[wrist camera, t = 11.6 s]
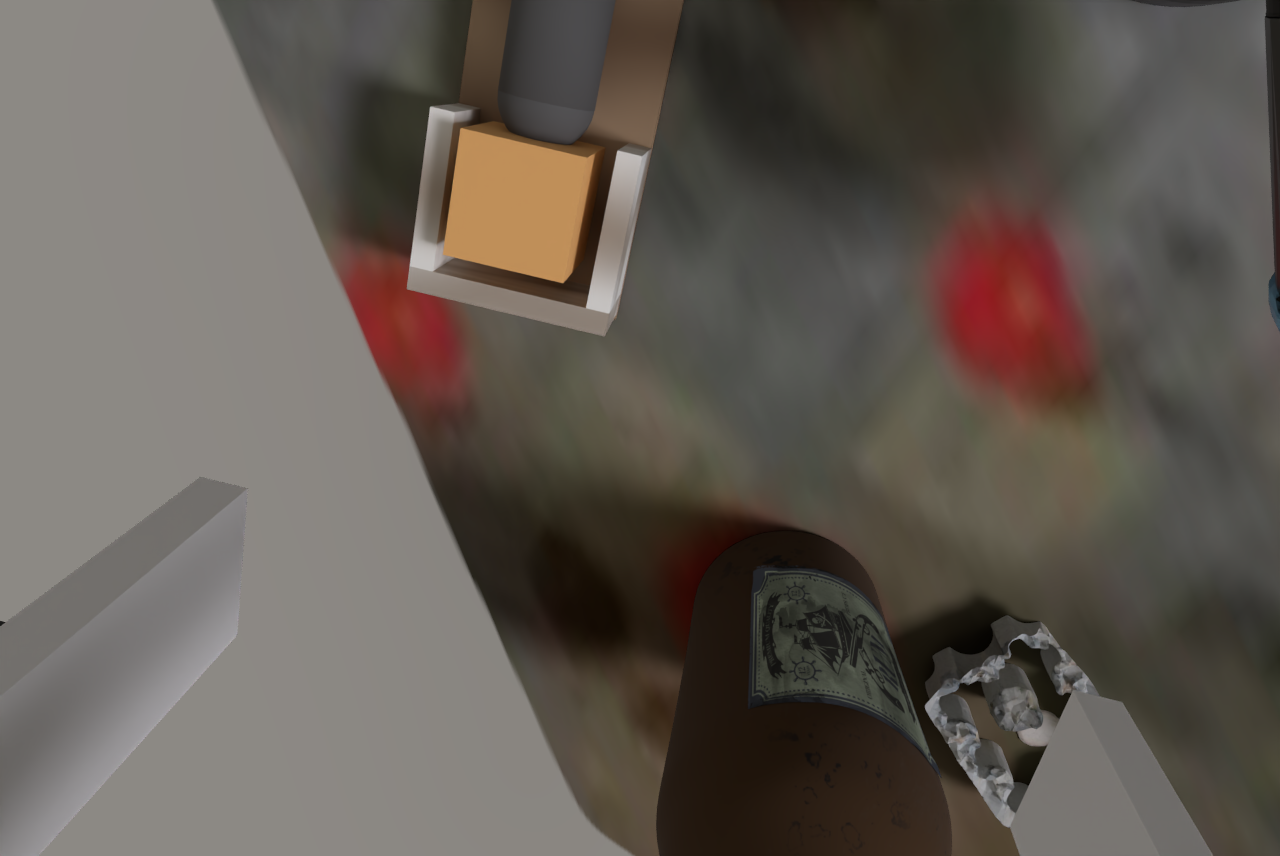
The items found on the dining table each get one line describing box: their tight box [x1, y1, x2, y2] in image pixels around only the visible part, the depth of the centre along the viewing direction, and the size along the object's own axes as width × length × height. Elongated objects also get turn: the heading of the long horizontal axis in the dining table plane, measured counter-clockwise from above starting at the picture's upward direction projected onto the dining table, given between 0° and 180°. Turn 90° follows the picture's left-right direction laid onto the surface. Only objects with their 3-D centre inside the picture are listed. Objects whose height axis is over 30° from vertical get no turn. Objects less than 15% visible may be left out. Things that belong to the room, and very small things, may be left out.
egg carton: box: [925, 615, 1100, 828], centre depth 48 cm, size 11×8×4 cm
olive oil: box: [656, 531, 952, 856], centre depth 38 cm, size 11×11×25 cm
